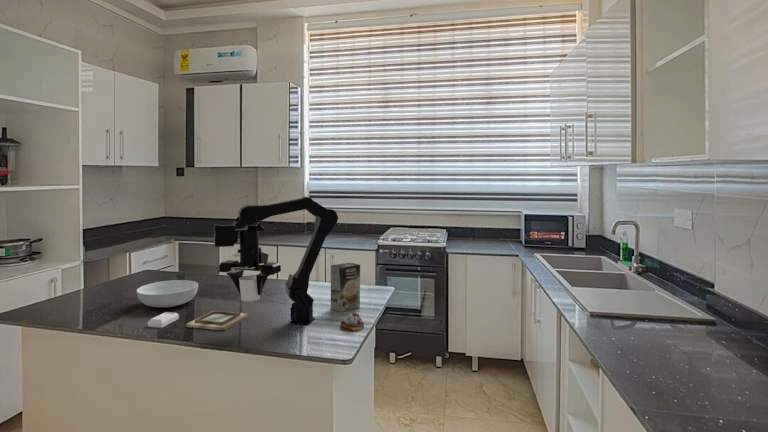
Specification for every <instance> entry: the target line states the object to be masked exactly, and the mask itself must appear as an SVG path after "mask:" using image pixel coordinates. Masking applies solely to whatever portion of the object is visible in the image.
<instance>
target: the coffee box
mask: <svg viewBox="0 0 768 432" xmlns="http://www.w3.org/2000/svg"><path fill="white" fill-rule="evenodd" d="M360 306H361V264H359V263H354V262H353V263H352V262H345V263H339V264H337V263H336V264H331V265H330V309H332V310H334V311H337V312H341V313H343V312H345V311H349V310H354V309H357V308H360Z"/></svg>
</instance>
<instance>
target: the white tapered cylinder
mask: <svg viewBox="0 0 768 432" xmlns="http://www.w3.org/2000/svg"><path fill="white" fill-rule="evenodd" d="M256 275H257V274H251V275H247V274H246V275H243V276H242V277H240V278H239V284H240V292H241V294H240V298H241V301H242V302H255V301H256V302H257V301H258V300H260V299H261V295H258V290H257V279H256Z"/></svg>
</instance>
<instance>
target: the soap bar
mask: <svg viewBox="0 0 768 432" xmlns="http://www.w3.org/2000/svg"><path fill="white" fill-rule="evenodd" d="M179 319H180V314H179V313H177V312H171V311H164V312H163V313H160V314H159V315H156V316H155V317H152V318H150V319H149V320H148V321H147V328H164V327H166V326H168V325H169V324H171V323H173V322H175V321H177V320H179Z"/></svg>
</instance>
